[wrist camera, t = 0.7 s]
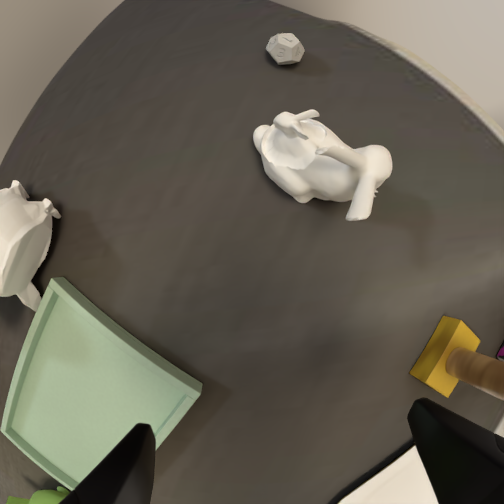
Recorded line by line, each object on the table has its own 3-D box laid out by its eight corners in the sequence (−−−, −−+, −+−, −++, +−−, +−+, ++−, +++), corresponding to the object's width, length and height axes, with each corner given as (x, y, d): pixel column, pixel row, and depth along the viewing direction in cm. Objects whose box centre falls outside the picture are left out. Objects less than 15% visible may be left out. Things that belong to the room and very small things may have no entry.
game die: (278, 41, 24) (283, 23, 21) (307, 60, 24) (314, 42, 21) (257, 56, 24) (260, 38, 21) (286, 76, 24) (292, 58, 21)
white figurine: (379, 188, 24) (446, 158, 15) (344, 259, 24) (410, 259, 14) (269, 116, 24) (291, 47, 14) (223, 183, 23) (221, 134, 13)
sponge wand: (432, 388, 24) (517, 438, 11) (408, 373, 24) (504, 428, 10) (463, 335, 25) (556, 362, 11) (442, 315, 25) (547, 339, 11)
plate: (471, 465, 25) (476, 469, 24) (366, 544, 24) (370, 550, 22) (451, 398, 25) (460, 403, 23) (306, 507, 23) (309, 516, 21)
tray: (107, 500, 21) (103, 510, 19) (8, 424, 20) (0, 430, 18) (203, 383, 23) (201, 394, 20) (63, 276, 22) (51, 277, 20)
